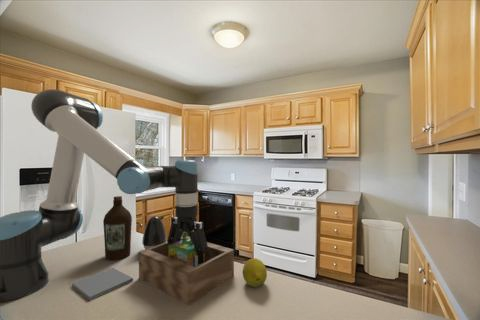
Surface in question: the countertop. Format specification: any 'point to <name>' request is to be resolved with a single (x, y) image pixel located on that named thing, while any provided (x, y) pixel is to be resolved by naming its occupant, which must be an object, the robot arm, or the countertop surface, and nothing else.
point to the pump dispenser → (154, 233)
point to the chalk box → (184, 251)
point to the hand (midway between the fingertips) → (186, 268)
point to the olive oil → (117, 231)
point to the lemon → (254, 272)
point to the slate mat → (101, 283)
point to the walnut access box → (186, 271)
